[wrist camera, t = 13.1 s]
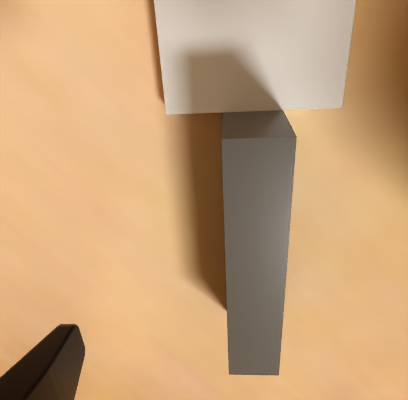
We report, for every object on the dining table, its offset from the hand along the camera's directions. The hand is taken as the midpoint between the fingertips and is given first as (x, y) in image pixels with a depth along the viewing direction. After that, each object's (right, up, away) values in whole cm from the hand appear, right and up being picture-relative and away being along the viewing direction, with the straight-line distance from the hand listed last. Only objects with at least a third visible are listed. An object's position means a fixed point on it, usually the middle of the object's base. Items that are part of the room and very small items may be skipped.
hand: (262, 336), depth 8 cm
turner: (+1, +5, +8) cm, 9 cm away
